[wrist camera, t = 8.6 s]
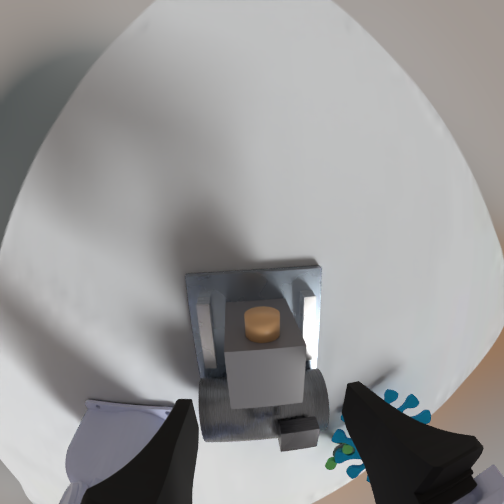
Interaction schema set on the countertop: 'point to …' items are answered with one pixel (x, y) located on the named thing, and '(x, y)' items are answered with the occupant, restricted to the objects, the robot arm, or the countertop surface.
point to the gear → (348, 447)
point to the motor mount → (213, 359)
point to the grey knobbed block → (263, 354)
